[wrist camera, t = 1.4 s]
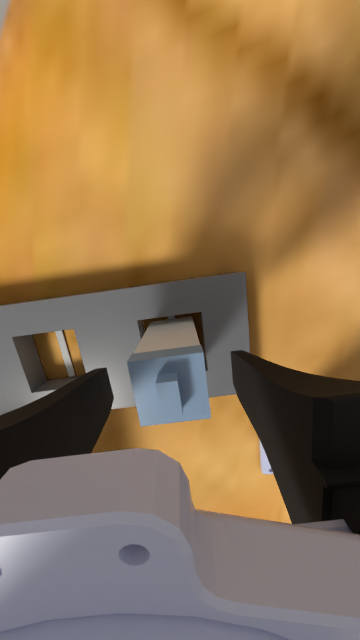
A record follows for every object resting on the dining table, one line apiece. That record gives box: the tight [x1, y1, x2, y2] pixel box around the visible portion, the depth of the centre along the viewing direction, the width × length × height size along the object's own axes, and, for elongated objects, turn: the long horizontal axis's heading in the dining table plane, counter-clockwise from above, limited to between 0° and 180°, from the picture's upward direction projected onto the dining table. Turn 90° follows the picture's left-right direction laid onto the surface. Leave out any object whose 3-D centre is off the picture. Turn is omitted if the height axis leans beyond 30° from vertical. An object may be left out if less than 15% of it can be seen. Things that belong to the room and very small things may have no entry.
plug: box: [127, 316, 211, 426], centre depth 13 cm, size 4×4×9 cm
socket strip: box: [0, 272, 250, 415], centre depth 17 cm, size 22×10×2 cm, turn 98°
